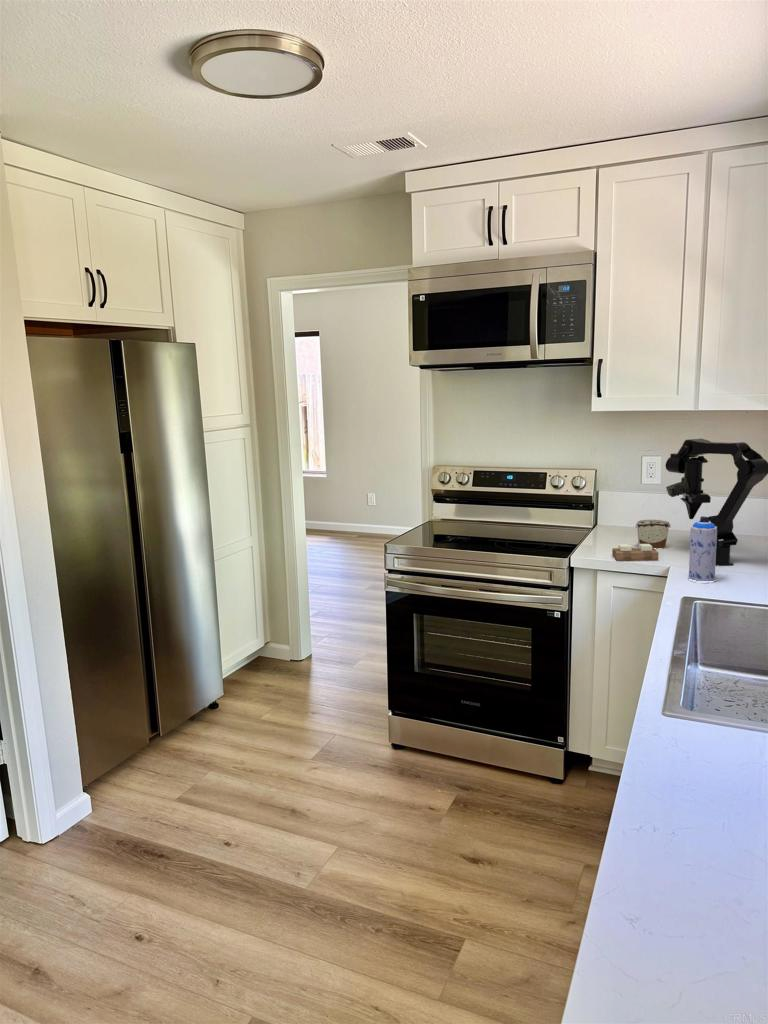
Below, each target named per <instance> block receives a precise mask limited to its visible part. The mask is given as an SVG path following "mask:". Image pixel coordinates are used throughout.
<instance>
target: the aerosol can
mask: <svg viewBox="0 0 768 1024" xmlns="http://www.w3.org/2000/svg"><path fill="white" fill-rule="evenodd" d="M708 517H709V516H700V519H699V520H697V521H696V522H694V523H693V524H692V525H691V526H690V537H689V539H690V540H689V560H688V562H689V563H688V577H689V579H692V580H696V581H714V580H715V581H716V578H715V577H716V576H715V575H716V565H715V564H716V544H717V527H716V526H715V525H714V524H713V523H711V522H710V521H708Z"/></svg>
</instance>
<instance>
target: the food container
mask: <svg viewBox="0 0 768 1024" xmlns="http://www.w3.org/2000/svg"><path fill="white" fill-rule="evenodd" d="M635 528H636V529H637V536H638V540H637V541H638V545H639V544H650V545H651V546H652V548H656V549H655V550H659V549H658V548H662V549H661V550H665V549H664V548H666V549H667V541H668V535H669V528H670V529H671V523H670V521H667V520H662V519H661V520H660V519H640V520H638V521H636V525H635Z"/></svg>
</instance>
